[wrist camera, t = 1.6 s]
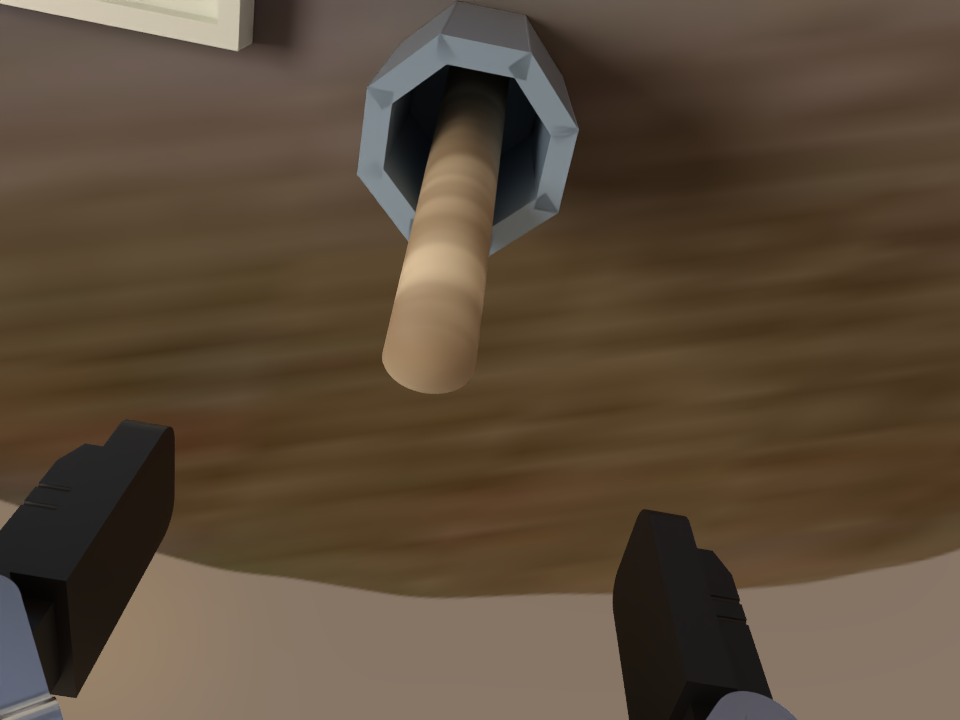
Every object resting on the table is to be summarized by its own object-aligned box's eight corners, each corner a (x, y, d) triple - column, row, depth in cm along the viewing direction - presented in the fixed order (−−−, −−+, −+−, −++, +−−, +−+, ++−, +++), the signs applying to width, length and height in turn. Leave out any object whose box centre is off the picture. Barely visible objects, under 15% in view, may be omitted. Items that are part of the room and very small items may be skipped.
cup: (407, -10, 32) (374, 19, 24) (574, 24, 32) (595, 64, 24) (385, 156, 35) (350, 230, 27) (537, 186, 35) (545, 267, 27)
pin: (454, 35, 32) (406, 180, 18) (515, 48, 32) (513, 200, 18) (431, 180, 35) (375, 396, 21) (486, 191, 35) (466, 412, 21)
